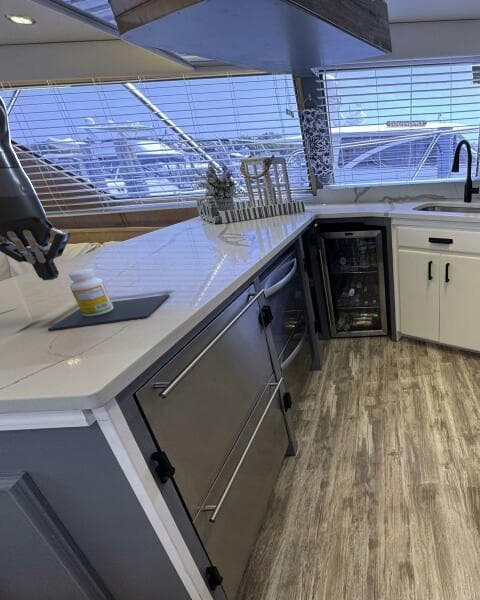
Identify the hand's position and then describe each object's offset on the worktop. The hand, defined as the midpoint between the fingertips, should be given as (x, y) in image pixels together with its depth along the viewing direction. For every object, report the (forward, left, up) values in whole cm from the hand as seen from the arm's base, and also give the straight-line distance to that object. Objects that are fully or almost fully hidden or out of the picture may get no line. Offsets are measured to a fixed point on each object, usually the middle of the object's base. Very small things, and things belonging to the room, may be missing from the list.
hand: (50, 278), depth 68 cm
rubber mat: (+9, 0, -9) cm, 13 cm away
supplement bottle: (+6, 0, -9) cm, 11 cm away
